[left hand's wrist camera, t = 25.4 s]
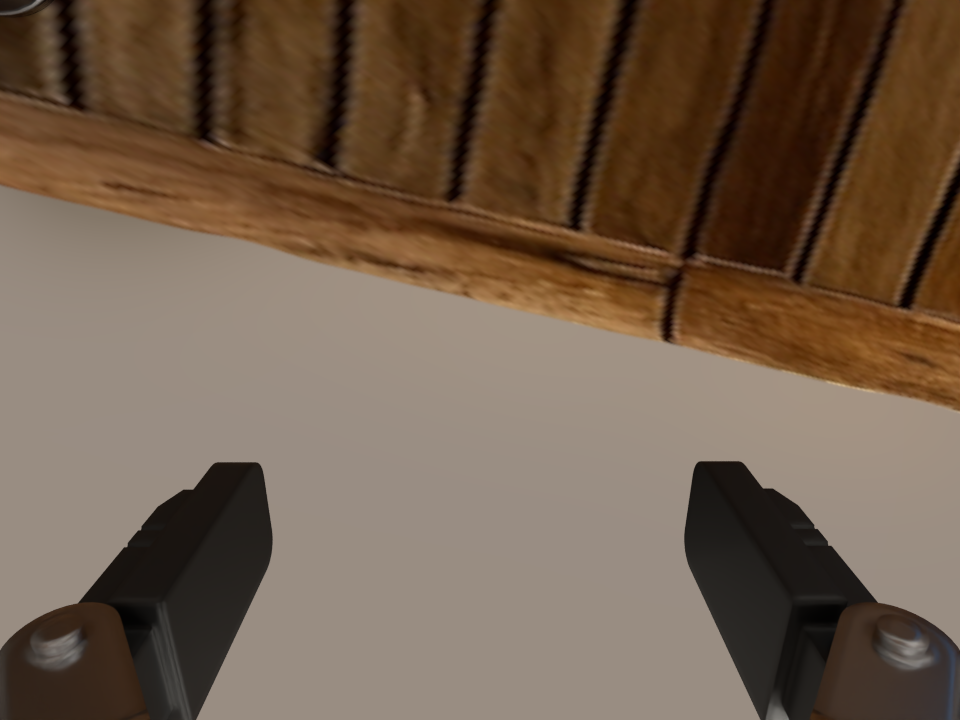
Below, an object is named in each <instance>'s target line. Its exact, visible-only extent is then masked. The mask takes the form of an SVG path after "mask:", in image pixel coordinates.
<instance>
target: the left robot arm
mask: <svg viewBox="0 0 960 720" xmlns="http://www.w3.org/2000/svg"><path fill="white" fill-rule="evenodd" d="M52 1H53V0H0V16H3V17H22V16H27V15H31V14H34V13H36V12H38V11H40V10H42V9H44V8H45V7H47V6H48V5H49V4H50V3H52ZM272 540H273V539H272V528H271V521H270V514H269V508H268V501H267V494H266V487H265V481H264V474H263V470H262V468H261V466H260V464H259V463H256V462H217V463H215V464H213V465H212V466H211V467H210V469H209V470H208V471H207V473H206V474H205V475H204V476H203V478H202V479H201V480H200V482H199V483H198V484H197V486H196V487H195V488H194V489H193V490H182V491H181V492H179V493H178V494H176V495H175V496H173V497H172V498H170V499H169V500H167V501H166V502H164V503H163V504H161V505H160V506H158V507H157V508H156V510H155V511H154V512H153V513H152V514H151V516H150V517H149V518H148V519H147V520H146V522H145V523H144V524H143V525H142V529H141V531H137V533H136V534H135V535H134V536H133V537H132V539H131V540H130V541H129V542H128V547H124V548H123V550H122V551H121V552H120V553H119V554H118V556H117V557H116V558H115V559H114V560H113V562H112V563H111V564H110V565H109V566H108V568H107V569H106V570H105V571H104V572H103V574H102V575H101V576H100V577H99V578H98V580H97V581H96V582H95V583H94V585H93V586H92V587H91V588H90V589H89V591H88V592H87V593H86V594H85V595H84V597H83V598H82V599H81V600H80V601H79V603H78V604H73V605H69V606H65V607H62V608H59V609H56V610H53V611H51V612H49V613H46V614H44V615H42V616H40V617H38V618H37V619H35V620H33V621H32V622H30V623H28V624H27V625H25V626H24V627H23V628H21V629H20V630H19V631H17V632H16V633H15V634H14V635H13V636H12V637H11V638H10V639H9V640H8V641H7V642H6V643H5V644H4V646H3V647H2V648H1V650H0V720H196V719H197V716H198V714H199V712H200V710H201V708H202V706H203V704H204V702H205V700H206V697H207V695H208V693H209V691H210V689H211V687H212V685H213V683H214V680H215V678H216V676H217V674H218V672H219V670H220V668H221V666H222V664H223V661H224V659H225V657H226V655H227V653H228V651H229V649H230V647H231V644H232V642H233V640H234V638H235V636H236V634H237V632H238V630H239V627H240V625H241V623H242V621H243V619H244V617H245V615H246V613H247V611H248V608H249V606H250V604H251V602H252V600H253V598H254V596H255V593H256V591H257V589H258V587H259V585H260V583H261V581H262V579H263V576H264V574H265V572H266V570H267V568H268V565H269V562H270V558H271V553H272ZM684 542H685V552H686V557H687V561H688V565H689V567H690V569H691V571H692V574H693V576H694V578H695V580H696V582H697V584H698V587H699V589H700V591H701V593H702V595H703V597H704V599H705V601H706V604H707V606H708V608H709V610H710V612H711V614H712V617H713V619H714V621H715V623H716V625H717V627H718V629H719V632H720V634H721V636H722V638H723V640H724V642H725V644H726V647H727V649H728V651H729V653H730V655H731V657H732V659H733V662H734V664H735V666H736V668H737V670H738V672H739V675H740V677H741V679H742V681H743V683H744V685H745V687H746V689H747V692H748V694H749V696H750V698H751V700H752V702H753V705H754V707H755V709H756V711H757V713H758V715H759V717H760V719H761V720H960V650H959V648H958V647H957V646H956V644H955V643H954V642H953V641H952V640H951V639H950V638H949V637H948V636H947V635H946V634H945V633H944V632H943V631H941V630H940V629H939V628H937V627H936V626H935V625H933V624H932V623H930V622H928V621H927V620H925V619H923V618H921V617H920V616H918V615H916V614H914V613H911V612H909V611H907V610H904V609H901V608H898V607H895V606H891V605H887V604H882V603H878V602H877V601H876V600H875V599H874V597H873V596H872V595H871V594H870V593H869V591H868V590H867V589H866V588H865V586H864V585H863V584H862V583H861V581H860V580H859V579H858V578H857V577H856V575H855V574H854V573H853V572H852V570H851V569H850V568H849V567H848V566H847V564H846V563H845V562H844V561H843V559H842V558H841V557H840V556H839V555H838V553H837V552H836V551H835V550H834V549H833V547H832V546H828V541H827V540H826V539H825V538H824V536H823V535H822V534H821V533H820V531H819V530H818V529H815V528H814V524H813V523H812V522H811V521H810V519H809V518H808V517H807V516H806V514H805V513H804V512H803V511H802V510H801V508H800V507H799V506H798V505H797V504H795V503H794V502H792V501H791V500H789V499H788V498H786V497H785V496H783V495H782V494H780V493H779V492H777V491H775V490H774V489H763V488H762V487H761V485H760V484H759V483H758V482H757V480H756V479H755V478H754V476H753V475H752V474H751V472H750V471H749V470H748V468H747V467H746V466H745V465H744V464H743V463H742V462H739V461H701V462H698V463H697V464H696V466H695V468H694V472H693V478H692V485H691V492H690V498H689V505H688V512H687V519H686V526H685V534H684Z"/></svg>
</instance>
